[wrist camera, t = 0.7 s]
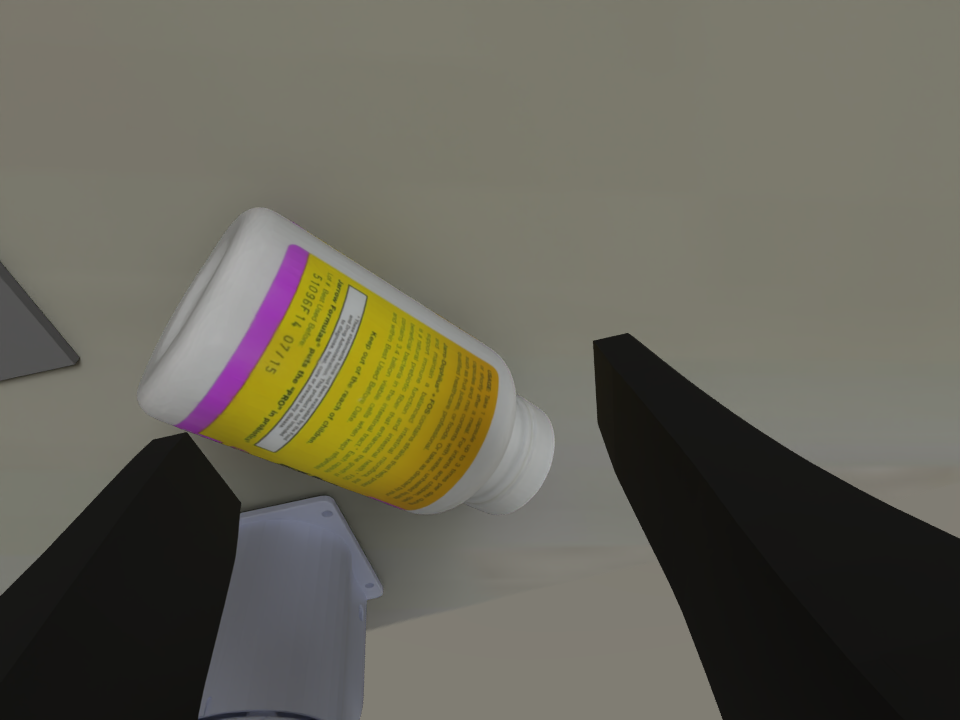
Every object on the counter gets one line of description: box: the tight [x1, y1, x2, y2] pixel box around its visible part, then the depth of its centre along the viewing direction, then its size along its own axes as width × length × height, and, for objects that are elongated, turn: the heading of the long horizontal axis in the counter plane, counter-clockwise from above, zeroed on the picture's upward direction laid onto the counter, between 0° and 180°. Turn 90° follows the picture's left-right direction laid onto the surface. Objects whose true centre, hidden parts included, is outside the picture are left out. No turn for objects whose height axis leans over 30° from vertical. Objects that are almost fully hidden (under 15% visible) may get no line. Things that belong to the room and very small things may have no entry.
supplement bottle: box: [137, 207, 555, 515], centre depth 18 cm, size 7×7×13 cm
